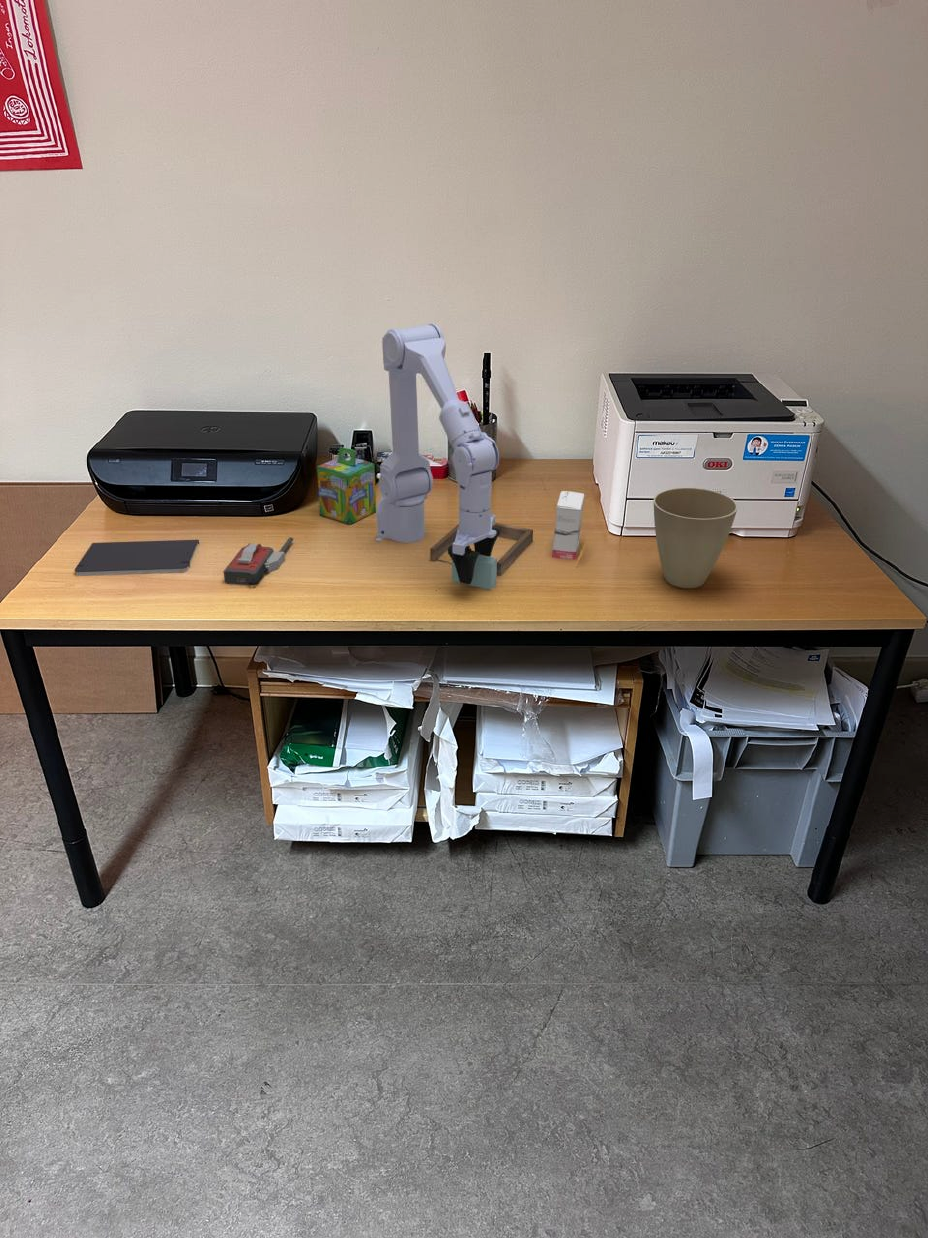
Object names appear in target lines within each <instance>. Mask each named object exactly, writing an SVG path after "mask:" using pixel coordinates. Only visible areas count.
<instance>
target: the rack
mask: <svg viewBox="0 0 928 1238" xmlns="http://www.w3.org/2000/svg"><path fill="white" fill-rule="evenodd" d="M458 527H459V523H458V524H457V525H455V526H454V527H453V528H452V529H451V530H450V531H449V532H448V533H446V534H445V535H444V536H443V537H442V538H441V539H439V540H438V541H437V542H436V543H435V544H434V545H433V546H432V547H430V551H429V552H430V553H429V555H430V561H431V562H439V563H443V564H448V565H449V564H450V565H452V562H450V561H448V560H443V559H439V558H441V557H442V556H443V554H445V553H446V552H448V548H449V547H450V546H451V545H453V543H454V542H455V539H456V535H457V530H458ZM492 527H493V528H497V529H499V530H500V534H499V536H498V537H497V538H503V539H508V540H513V541H516V542H514V544H512V546H511V547H509V549H508V550H506V552H505V553H504V554H503V555H502V556H501V557H500V558H499V559H498V560H497V576H499V577H500V576H502V575H503V574H505V572H506V571H507V570H508V569H509V568H510V567H511V566H512V565H513V564H514V562H515V561H516V560H517V559H518V558H519V557H520V556H521V554H523V552H524V551H525V550H526V549H527V548H528V547H529V546H530V545H531V544H532V543H533V540H534V529H532V528H531V529H530V528H526V527H522V526H521V527H520V526H515V525H510V524H505V523H500V522H495V525H494V526H492Z"/></svg>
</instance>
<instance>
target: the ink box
mask: <svg viewBox="0 0 928 1238" xmlns="http://www.w3.org/2000/svg"><path fill="white" fill-rule="evenodd" d="M584 501H585V493H584V492H583V493H582V492H576V491H569V490H562V491H560V493H559V497H558V500H557V502H556V503H557V504H556V511H555V512H556V513H555V523H554V531H553V539H552V540H553V541H552V550H551V558H555V559H564V560H576V558H577V554H578V552H579V551H578V550H579V545H580V536H581V528H582V522H583V521H582V520H583V511H584V503H585V502H584Z"/></svg>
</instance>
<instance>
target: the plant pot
mask: <svg viewBox="0 0 928 1238" xmlns="http://www.w3.org/2000/svg"><path fill="white" fill-rule="evenodd" d="M738 508H739V506H738V503H737V502H736V500H734V499H733V498H732V497H730V496H729V495H726V494H724V493H723V492H719V491H716V490H712V489H707V488H703V487H701V488H699V487H690V486H689V487H675V488H668V489H666V490H663V491H661V492H658V493H657V494H656V495H655V496H654V497H653V519H654V521H653V522H654V531H655V538H656V539H655V540H656V545H657V551H658V556H659V559H660V560H659V561H660V565H661V568H662V569H661V570H662V573H663V576H664V579H665V581H666V583H668V584H670V585H672V586H674V587H675V588H676V587H677V588H680V589H695V588H700V587H701V586H703V585H704V584H705V583H706V581H707V579H708V577H709V576H710V574H711V573H712V571H713V569H714V567H715V565H716V563H717V561H718V560H719V558H720V555H721V554H722V551H723V549H724V547H725V544H726V542H727V541H728V537H729V535H730V532H731V529H732V527H733V523H734V521H735V517H736V514H737V511H738Z"/></svg>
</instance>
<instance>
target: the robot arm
mask: <svg viewBox="0 0 928 1238" xmlns="http://www.w3.org/2000/svg"><path fill="white" fill-rule="evenodd" d="M446 344H447V343H446V341H445V338H444V335H443V331H442V330H441V329H440V327H439V326H438V325H437V324H436V323H428V324H425V325H417V326H411V327H402V328H390V329H389V330H387V331H386V332H385V334H384V335H383V337H382V344H381V345H382V361H383V362H382V364H383V370H384V371H386V372H388V386H389V402H390V419H391V421H390V423H391V426H390V427H391V439H392V440H391V441H392V452H391V453H390V454H389V456H387V458H385V459H384V460H383V461H382V462H381V464H380V472H379V473H380V474H379V479H378V488H379V493H380V495H381V497H380V499H379V500H378V503H377V505H376V524H377V525H376V526H377V527H376V529H377V530H376V531H377V537H376V539H375V541H376V542H379V543H380V542H381V541H382V540H383V539H389V540H392V541H395V542H397V543H402V544H406V543H407V544H411V543H416V542H420V541H422V540H423V539H424V538H425V537H426V532H425V531H426V528H425V527H426V526H425V525H426V521H425V516H426V515H425V500H428V495H429V494H431V492H432V490H433V486H434V477H433V473H432V471H431V463H430V461H429V459H428V458H427V457H425V456H424V455H423V454H421V453H420V449H419V448H420V447H419V446H420V445H419V444H420V443H419V422H418V418H419V417H418V396H417V394H418V393H417V392H418V391H417V374H420V375H421V377H422V378H423V380H424V381H425V383H426V385H427V387H428V388H429V390H430V392H431V394H432V395H433V398H435V400H436V402H437V403H438V405H439V407H440V412H439V416H438V419H439V422H440V425H441V426H442V428H443V430H444V432H445V435H446V437H447V439H448V441H449V443H450V445H451V447H452V450H453V454H451V460H452V465H453V469H454V471H455V479H456V483H457V484H458V524H459V527H458V530H457V535H456V539H455V542H454V543H453V545H451V546H450V547H449V548H448V550H447V555H448V556H449V557H450V558H451V560H453V562H454V564H455V567H456V570H457V574H458V577H459V581H460V583H459V584H462V583H465V584H464V585H467V584H471V582H472V579H473V572H474V566H475V562H476V560H477V557H478V555H484V556H489V557H492V552H493V549H494V546H495V544H496V541H497V539H498V538H499V537H498V536H499V534H500V530H499V529H497V528H493V527H492V526H494V525H495V523H496V514H492V484H493V483H492V478H493V477H492V475H493V474H492V471H495V470H496V469H497V468H498V466H499V463H500V452H499V449H498V446H497V444H496V442H495V440H493V438H492V437H490V436H488V434H487V433H486V432H482V429H481V427H480V424H478V422H477V420H476V417H475V414H474V412H473V411H472V408H471V407H470V405H469V403H467V402H465V401H463V400H460V398H459V396H458V393H457V390H456V388H455V385H454V382H453V380H452V376H451V374H450V371H449V369H448V366H447V364H446V360H445V355H446V348H447V346H446ZM471 545H473V546H474V547H473V548H474V550H473V549H472V547H471Z"/></svg>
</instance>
